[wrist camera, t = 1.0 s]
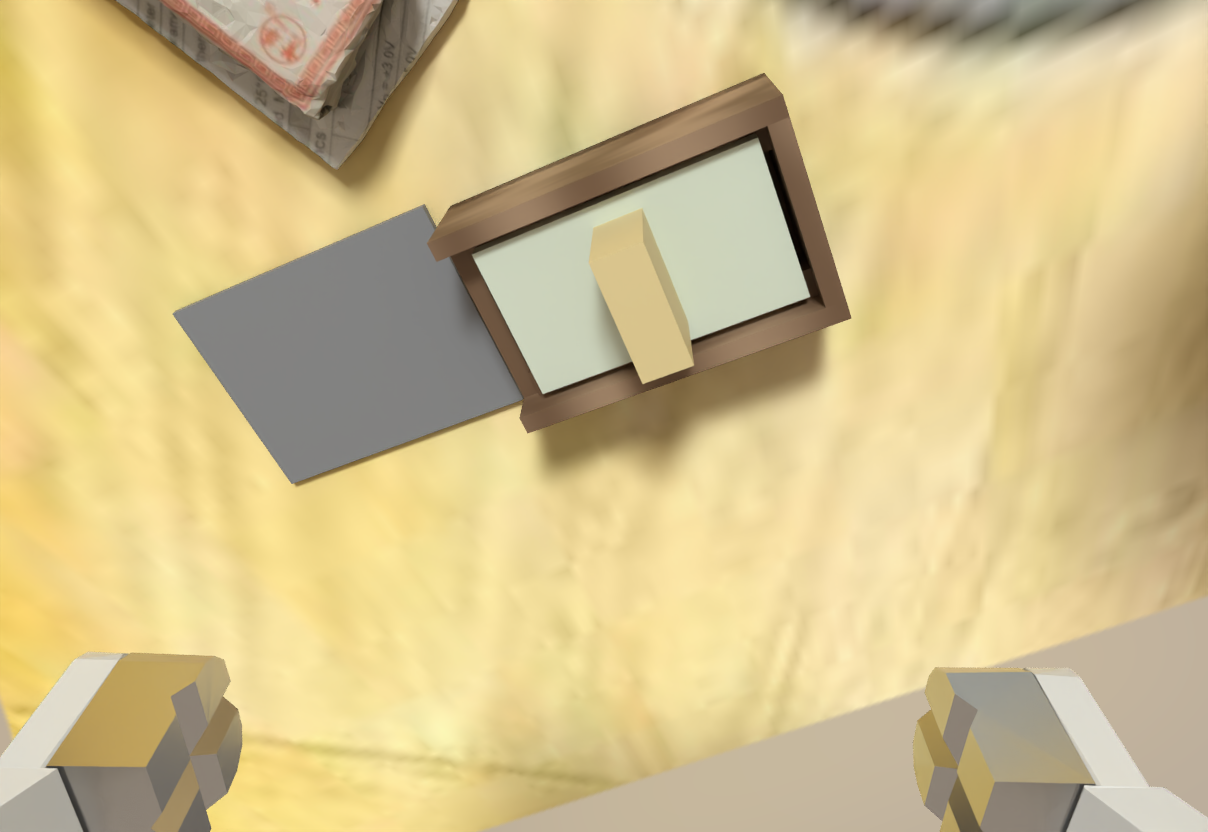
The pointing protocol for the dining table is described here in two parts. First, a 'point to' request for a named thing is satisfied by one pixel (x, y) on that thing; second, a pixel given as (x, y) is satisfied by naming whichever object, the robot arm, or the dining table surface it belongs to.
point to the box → (622, 165)
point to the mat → (352, 348)
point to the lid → (646, 269)
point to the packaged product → (304, 57)
